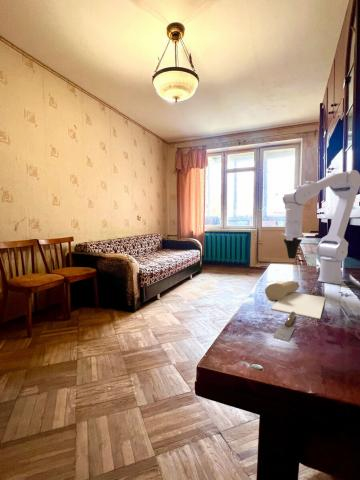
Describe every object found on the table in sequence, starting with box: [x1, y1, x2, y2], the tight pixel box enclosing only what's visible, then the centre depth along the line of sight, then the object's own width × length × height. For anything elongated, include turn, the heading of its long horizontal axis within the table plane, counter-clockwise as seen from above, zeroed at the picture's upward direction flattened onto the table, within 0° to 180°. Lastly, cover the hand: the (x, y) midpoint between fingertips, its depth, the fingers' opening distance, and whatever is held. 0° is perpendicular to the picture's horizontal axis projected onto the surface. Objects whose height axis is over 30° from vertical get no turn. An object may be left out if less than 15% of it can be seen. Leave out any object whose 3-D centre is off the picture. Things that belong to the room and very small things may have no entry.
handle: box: [264, 280, 300, 301], centre depth 81 cm, size 5×6×15 cm
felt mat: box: [270, 291, 326, 320], centre depth 74 cm, size 20×12×1 cm, turn 146°
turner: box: [273, 312, 297, 342], centre depth 58 cm, size 15×3×1 cm, turn 146°
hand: (291, 258), depth 93 cm, fingers closed
